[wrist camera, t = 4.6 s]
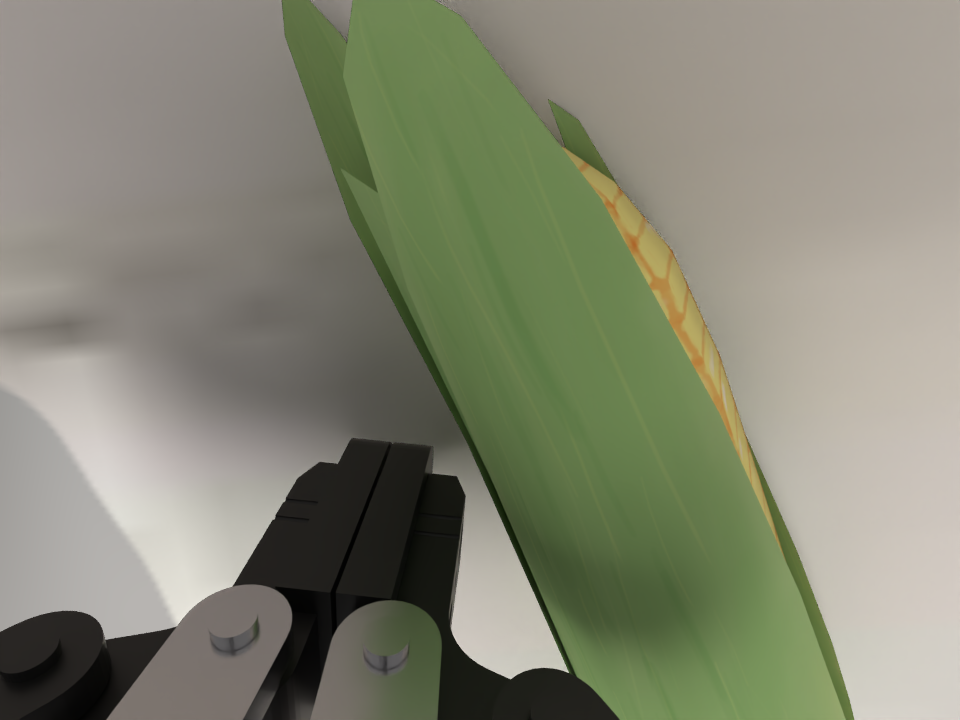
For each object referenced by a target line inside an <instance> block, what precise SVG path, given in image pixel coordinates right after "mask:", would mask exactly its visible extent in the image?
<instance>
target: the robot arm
mask: <svg viewBox="0 0 960 720" xmlns="http://www.w3.org/2000/svg"><path fill="white" fill-rule="evenodd" d="M432 468H433V446H425V445H415V444H406V443H396V442H394V443H393V444H392V442H385V441H376V440H366V439H357V438H352V439H351V440H350V442H349V443H348V445H347V447H346V449H345V451H344V453H343V455H342V457H341V459H340V461H339V463H338V464H334V463H325V462H319V463H318V464H316V465H315V466H313V467H312V468H311V469H309V470H308V471H307V472H305V473H304V474H303V475H301V476H300V477H299V478H298V479H297V480H296V482H295V484H294V485H293V487H292V489H291V490H290V492H289V494H288V495H287V497H286V501H285V502H283V504H282V505H281V507H280V509H279V510H278V512H277V514H276V517H275V520H272V522H271V524H270V525H269V527H268V529H267V530H266V532H265V534H264V535H263V537H262V539H261V540H260V542H259V544H258V545H257V547H256V549H255V550H254V552H253V554H252V555H251V557H250V559H249V560H248V562H247V564H246V565H245V567H244V568H243V570H242V572H241V573H240V575H239V577H238V578H237V580H236V582H235V583H234V585H233V587H230V588H227V589H224V590H221V591H219V592H216V593H214V594H212V595H210V596H208V597H207V598H205V599H204V600H202V601H201V602H199V603H198V604H197V605H196V606H194V607H193V608H192V609H191V610H190V611H189V612H188V613H187V614H186V616H185V617H184V618H183V619H182V620H181V622H180V623H179V624H178V626H177V627H174V628H170V629H167V630H161V631H156V632H150V633H144V634H138V635H132V636H126V637H120V638H114V639H108V640H105V637H104V633H103V630H102V627H101V625H100V624H99V622H98V621H97V620H96V619H95V618H93V617H92V616H90V615H88V614H85V613H82V612H77V611H59V612H52V613H47V614H43V615H39V616H36V617H33V618H30V619H27V620H25V621H23V622H21V623H18V624H16V625H14V626H11V627H9V628H7V629H5V630H3V631H1V632H0V720H620V719H619V718H618V717H617V716H616V714H615V713H614V712H613V711H612V710H611V709H610V707H609V706H608V705H607V704H606V703H605V702H604V701H603V699H602V698H601V697H600V696H599V695H598V694H597V693H596V692H595V691H594V690H593V689H592V688H591V687H590V686H589V685H588V684H586V683H585V682H584V681H583V680H581V679H579V678H578V677H576V676H574V675H572V674H570V673H567V672H565V671H561V670H557V669H552V668H537V669H531V670H528V671H524V672H522V673H520V674H518V675H516V676H515V677H514V678H512V679H511V680H510V679H508V678H506V677H504V676H502V675H499V674H497V673H495V672H493V671H491V670H488V669H486V668H485V667H483V666H481V665H479V664H477V663H476V662H475V661H473V660H472V659H471V658H469V657H468V656H467V655H466V654H465V653H464V652H463V651H462V649H461V648H460V647H459V645H458V644H457V642H456V640H455V639H454V637H453V635H452V631H451V624H452V616H453V609H454V601H455V594H456V586H457V579H458V572H459V564H460V555H461V544H462V532H463V520H464V508H465V497H466V496H465V493H464V491H463V489H462V487H461V485H460V482H459V480H458V478H457V476H448V475H439V474H432Z"/></svg>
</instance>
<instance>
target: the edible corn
mask: <svg viewBox="0 0 960 720" xmlns="http://www.w3.org/2000/svg"><path fill="white" fill-rule="evenodd" d="M282 8H283V19H284V31H285V37H286V40H287V43H288V46H289V49H290V52H291V54H292V57H293V60H294V63H295V66H296V68H297V71H298V74H299V77H300V80H301V83H302V85H303V88H304V91H305V94H306V97H307V99H308V102H309V105H310V108H311V111H312V113H313V116H314V119H315V122H316V125H317V128H318V130H319V133H320V136H321V139H322V142H323V144H324V147H325V150H326V153H327V156H328V159H329V161H330V164H331V167H332V170H333V173H334V175H335V178H336V181H337V184H338V187H339V190H340V192H341V195H342V198H343V201H344V204H345V206H346V209H347V212H348V215H349V218H350V220H351V222H352V224H353V226H354V228H355V230H356V232H357V234H358V236H359V238H360V239H361V241H362V243H363V245H364V247H365V249H366V251H367V253H368V255H369V257H370V258H371V260H372V262H373V264H374V266H375V268H376V270H377V272H378V274H379V276H380V277H381V279H382V281H383V283H384V285H385V287H386V289H387V291H388V293H389V295H390V297H391V298H392V300H393V302H394V304H395V306H396V308H397V310H398V312H399V314H400V316H401V317H402V319H403V321H404V323H405V325H406V327H407V329H408V331H409V333H410V335H411V336H412V338H413V340H414V342H415V344H416V346H417V348H418V350H419V352H420V354H421V356H422V357H423V359H424V361H425V363H426V365H427V367H428V369H429V371H430V373H431V375H432V376H433V378H434V380H435V382H436V384H437V386H438V388H439V390H440V392H441V394H442V395H443V397H444V399H445V401H446V403H447V405H448V407H449V409H450V411H451V413H452V415H453V416H454V418H455V420H456V422H457V424H458V426H459V428H460V430H461V432H462V434H463V435H464V437H465V439H466V441H467V443H468V445H469V448H470V450H471V452H472V454H473V457H474V459H475V461H476V463H477V466H478V468H479V470H480V472H481V475H482V477H483V479H484V481H485V484H486V486H487V488H488V490H489V493H490V495H491V497H492V499H493V502H494V504H495V506H496V508H497V511H498V513H499V515H500V517H501V520H502V522H503V524H504V526H505V529H506V531H507V533H508V535H509V538H510V540H511V542H512V544H513V547H514V549H515V551H516V553H517V556H518V558H519V560H520V562H521V565H522V567H523V569H524V571H525V574H526V576H527V578H528V580H529V583H530V585H531V587H532V589H533V592H534V594H535V596H536V598H537V601H538V603H539V605H540V607H541V610H542V612H543V614H544V616H545V619H546V621H547V623H548V625H549V628H550V630H551V632H552V635H553V637H554V639H555V641H556V644H557V646H558V648H559V650H560V653H561V655H562V657H563V660H564V662H565V664H566V666H567V669H568V671H569V673H570V674H572V675H574V676H576V677H578V678H579V679H581V680H583V681H584V682H585V683H586V684H588V685H589V686H590V687H591V688H592V689H593V690H594V691H595V692H596V693H597V694H598V695H599V696H600V697H601V698H602V699H603V701H604V702H605V703H606V704H607V705H608V706H609V707H610V709H611V710H612V711H613V712H614V713H615V714H616V716H617V717H618V718H619V719H620V720H854V717H853V712H852V708H851V704H850V700H849V697H848V694H847V690H846V687H845V684H844V681H843V677H842V674H841V671H840V667H839V664H838V661H837V658H836V654H835V651H834V648H833V645H832V642H831V639H830V636H829V634H828V631H827V629H826V626H825V623H824V621H823V618H822V615H821V613H820V610H819V608H818V605H817V602H816V600H815V597H814V594H813V592H812V589H811V587H810V584H809V581H808V579H807V576H806V574H805V571H804V568H803V566H802V563H801V560H800V558H799V555H798V553H797V550H796V548H795V546H794V543H793V541H792V539H791V537H790V534H789V532H788V530H787V528H786V525H785V523H784V521H783V519H782V516H781V514H780V512H779V509H778V507H777V505H776V503H775V500H774V498H773V496H772V494H771V491H770V489H769V487H768V485H767V482H766V480H765V478H764V476H763V473H762V471H761V469H760V467H759V464H758V462H757V460H756V458H755V455H754V453H753V451H752V448H751V446H750V444H749V442H748V439H747V437H746V435H745V432H744V429H743V426H742V423H741V420H740V417H739V414H738V411H737V407H736V404H735V401H734V398H733V395H732V392H731V389H730V386H729V382H728V379H727V376H726V373H725V370H724V367H723V364H722V361H721V358H720V355H719V353H718V350H717V348H716V346H715V344H714V342H713V340H712V337H711V335H710V333H709V331H708V329H707V326H706V324H705V322H704V320H703V318H702V315H701V313H700V311H699V309H698V307H697V304H696V302H695V300H694V298H693V296H692V293H691V291H690V289H689V287H688V285H687V282H686V280H685V278H684V276H683V274H682V271H681V269H680V267H679V265H678V263H677V260H676V258H675V256H674V254H673V252H672V250H671V249H670V247H669V246H668V245H667V244H666V243H665V241H664V240H663V239H662V238H661V237H660V236H659V234H658V233H657V232H656V231H655V230H654V228H653V227H652V226H651V225H650V224H649V222H648V221H647V220H646V219H645V218H644V216H643V215H642V214H641V213H640V212H639V210H638V209H637V208H636V207H635V206H634V205H633V203H632V202H631V201H630V200H629V199H628V197H627V196H626V195H625V194H624V193H623V191H622V190H621V189H620V188H619V187H618V185H617V183H616V182H615V180H614V178H613V177H612V175H611V173H610V172H609V170H608V168H607V167H606V165H605V163H604V162H603V160H602V158H601V157H600V155H599V153H598V152H597V150H596V148H595V147H594V145H593V143H592V142H591V140H590V138H589V137H588V135H587V133H586V132H585V130H584V128H583V127H582V125H581V123H580V122H579V120H577V119H576V118H574V117H573V116H572V115H570V114H569V113H567V112H566V111H564V110H563V109H562V108H560V107H559V106H557V105H556V104H554V103H553V102H552V101H550V100H549V99H548V101H549V103H550V106H551V109H552V111H553V114H554V117H555V120H556V122H557V125H558V128H559V130H560V133H561V136H562V139H563V141H564V144H565V147H566V148H564V147H561V146H560V144H559V143H558V142H557V141H556V139H555V138H554V137H553V135H552V134H551V133H550V131H549V130H548V129H547V127H546V126H545V125H544V124H543V122H542V121H541V120H540V118H539V117H538V116H537V114H536V113H535V112H534V111H533V109H532V108H531V107H530V105H529V104H528V103H527V101H526V100H525V99H524V97H523V96H522V95H521V94H520V92H519V91H518V90H517V88H516V87H515V86H514V84H513V83H512V82H511V81H510V79H509V78H508V77H507V75H506V74H505V73H504V71H503V70H502V69H501V67H500V66H499V65H498V64H497V62H496V61H495V60H494V58H493V57H492V56H491V54H490V53H489V52H488V51H487V49H486V48H485V47H484V45H483V44H482V43H481V41H480V40H479V39H478V37H477V36H476V35H475V34H474V32H473V31H472V30H471V28H470V27H469V26H468V24H467V23H466V22H465V21H464V19H463V18H462V17H461V16H460V15H458V14H457V13H455V12H453V11H452V10H450V9H448V8H447V7H445V6H443V5H441V4H440V3H438V2H436V1H435V0H353V2H352V10H351V17H350V25H349V33H348V40H347V43H346V41H345V40H344V38H343V37H342V36H341V34H340V33H339V32H338V31H337V30H336V29H335V28H334V27H333V25H332V24H331V23H330V22H329V21H328V20H327V19H326V18H325V17H324V16H323V15H322V14H321V12H320V11H319V10H318V9H317V8H316V7H315V6H314V5H313V4H312V3H311V2H310V1H309V0H282Z"/></svg>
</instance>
